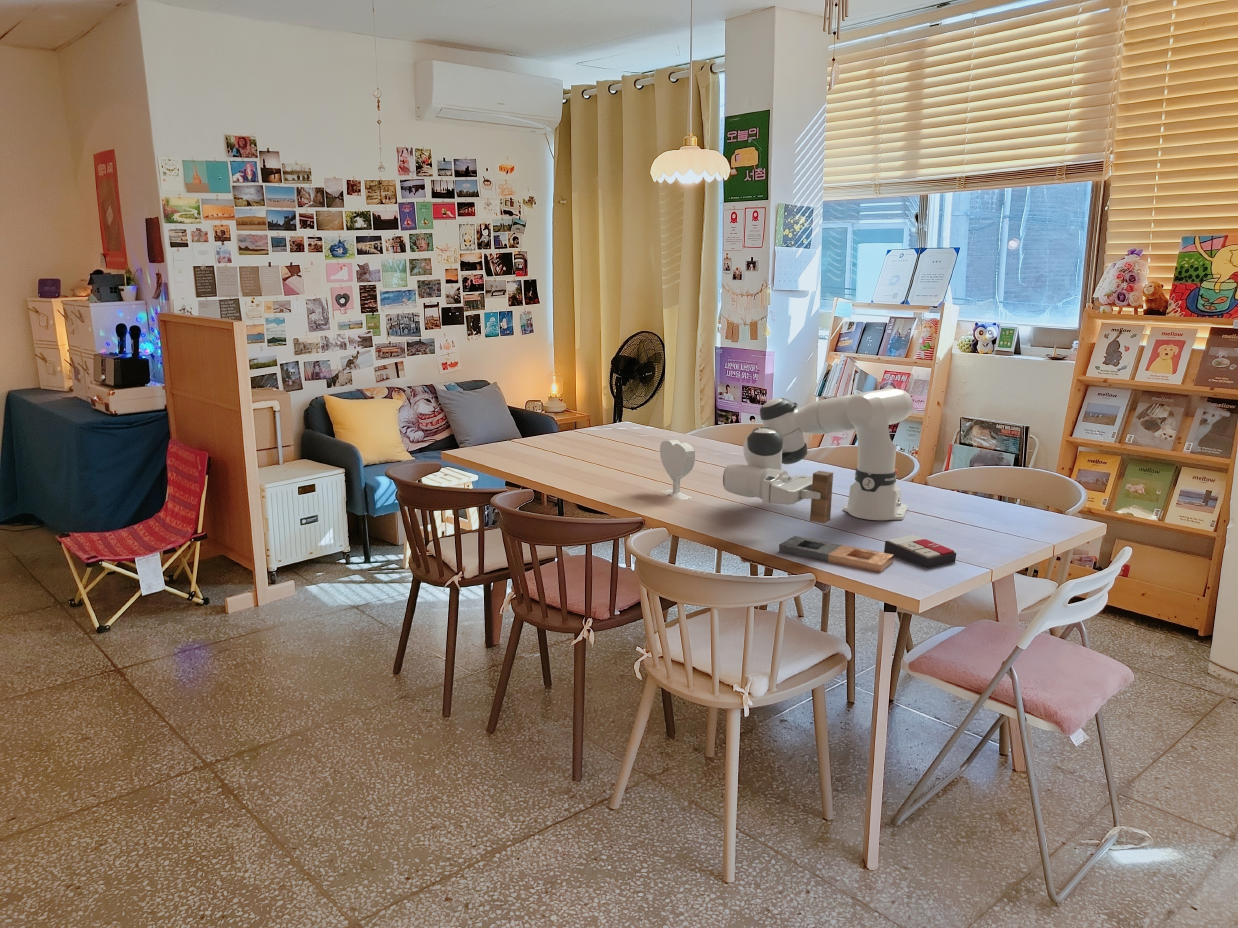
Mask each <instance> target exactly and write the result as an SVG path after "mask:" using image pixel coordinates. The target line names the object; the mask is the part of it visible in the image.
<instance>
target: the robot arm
mask: <svg viewBox="0 0 1238 928" xmlns="http://www.w3.org/2000/svg"><path fill="white" fill-rule="evenodd" d="M798 406H799V404H798V403H797V402H793V401H791V400H790V399H788V398H783V397H780V398H779V397H778V398H772V399H769V400H768V401H767V402H765V403H763V404H762V405H761V406H760V408H759V415H760V420H761V421H762V425H763V427H754V428H753V429H752V431H751V432H750V433H749V434H748V435H747V436H746V438H745V440H744V443H743V448H742V449H743V450H742V451H743V457H744V460H745V461H746V463H747V464H734V463H733V464H727V466H726V467H725V468H724V471H723V474H722V475H723V476H722V483H723V484H722V485H723V489H724V490H725V491H727V492H728V493H731V494H733V495H737V496H741V497H745V498H750V499H751V498H759V499H761V502H762V503H761V504H764V505H769V504H778V505H786V506H787V505H794V504H796V503H798V502H800V501H802V500H806V499H807V500H811V499H820V498H822V492H819V491H812V480H813V475H807V474H806V475H805V474H797V475H793V476H791V475H789V473H788V471H787V470H783V469H782V468H783V467H782V466H783V465H791V464H792V465H793V464H796V463H798V462H800V461H802V460H804V459H805V458H806V456H807V454H808V446H807V442H806V441H805V437H804V433H805V434H808V435H829V434H835V433H836V434H837V433H843V432H849V431H855V433H856V437H857V444H858V445H857V447H858V449H857V450H858V451H857V468H855V472H854V480H855V482H853V483H852V484H850V486H849V494H848V500H847V504H846V505H844V506H843V507H842V508H843V509H842V511H844V512H846V513H848V514H849V515H850V516H853V517H855V518H858V519H862V520H863V519H864V520H868V521H869V520H870V521H889V520H890V521H891V520H896V521H899V520H900V521H901V520H902V521H903V520H904V518H905V515H906V514H907V512H908V507H909V506H908V505H907V504H905V503H902V491H901V489H900V488H899V486H898V485H897V483H896V482H897V475H898V469H897V468H895V467H896V453H897V447H896V444H895V442H894V441H892V439H891V435H890V428H889V425H890V426H891V425H895V424H896V425H897V424H898V423H900V422H902V421H904V420H905V419H907V418H909V416H910V415H911V414H912V412H913V410H914V402H913V398H912V396H911V395H910V394H909V393H908V392H907V391H906V390H902V389H899V388H893V387H891V388H883V389H875V390H869V391H864V392H859V393H855V394H854V393H853V394H847V395H843V396H841V395H840V396H837V397H830V398H826V399H821V400H817V401H813V402H810V403H808V404H806V405H803V406H801V407H800V408H798ZM782 464H783V465H782Z"/></svg>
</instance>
